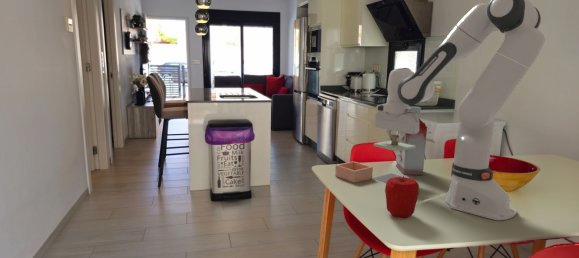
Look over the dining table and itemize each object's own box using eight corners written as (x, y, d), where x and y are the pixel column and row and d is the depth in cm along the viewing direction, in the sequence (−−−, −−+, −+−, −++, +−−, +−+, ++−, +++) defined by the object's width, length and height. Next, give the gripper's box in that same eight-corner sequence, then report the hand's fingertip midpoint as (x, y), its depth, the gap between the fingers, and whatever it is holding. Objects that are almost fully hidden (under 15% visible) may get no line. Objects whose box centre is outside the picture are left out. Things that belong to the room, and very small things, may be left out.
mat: (416, 182, 158) (416, 181, 158) (397, 188, 150) (397, 186, 150) (391, 174, 168) (391, 173, 168) (372, 179, 160) (372, 178, 160)
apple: (408, 208, 129) (411, 170, 127) (422, 221, 119) (426, 180, 117) (378, 209, 128) (381, 171, 125) (390, 222, 118) (393, 181, 115)
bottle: (425, 176, 166) (431, 109, 160) (401, 176, 166) (406, 108, 160) (415, 167, 180) (420, 105, 175) (393, 167, 180) (398, 104, 175)
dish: (372, 179, 160) (372, 167, 159) (353, 184, 154) (354, 171, 153) (353, 173, 169) (353, 161, 168) (335, 177, 162) (335, 165, 161)
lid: (415, 148, 155) (416, 136, 154) (397, 151, 148) (398, 139, 147) (391, 142, 165) (392, 131, 164) (373, 145, 158) (374, 133, 157)
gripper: (424, 110, 147) (421, 145, 150) (382, 105, 163) (380, 136, 166) (414, 111, 144) (411, 147, 146) (373, 105, 160) (371, 137, 162)
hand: (394, 141), depth 156 cm, fingers closed on lid, 3 cm apart
